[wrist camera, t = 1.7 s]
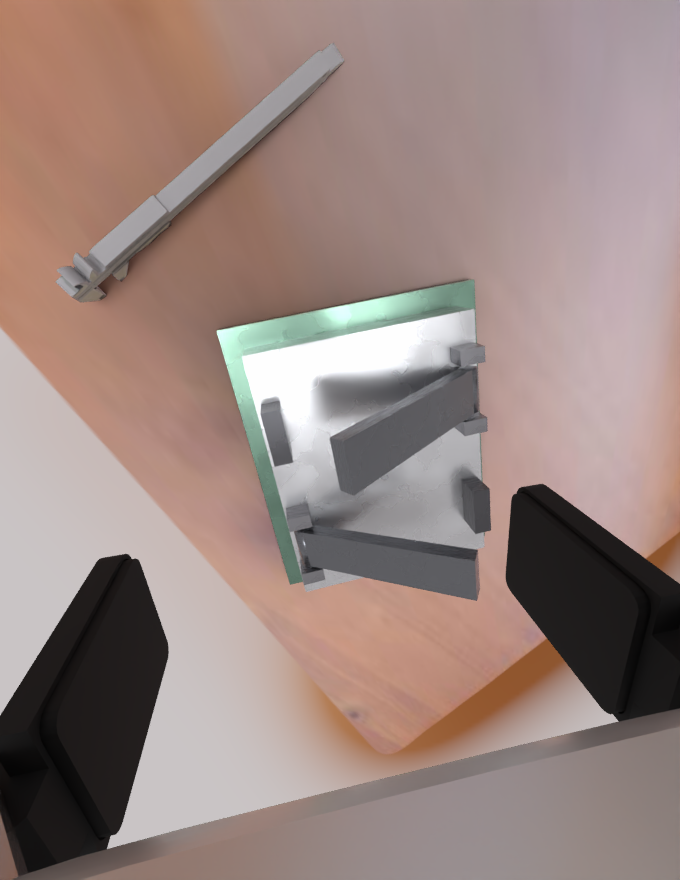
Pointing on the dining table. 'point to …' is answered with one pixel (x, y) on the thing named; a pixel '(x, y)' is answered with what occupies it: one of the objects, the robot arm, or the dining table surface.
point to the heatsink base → (359, 418)
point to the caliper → (192, 182)
